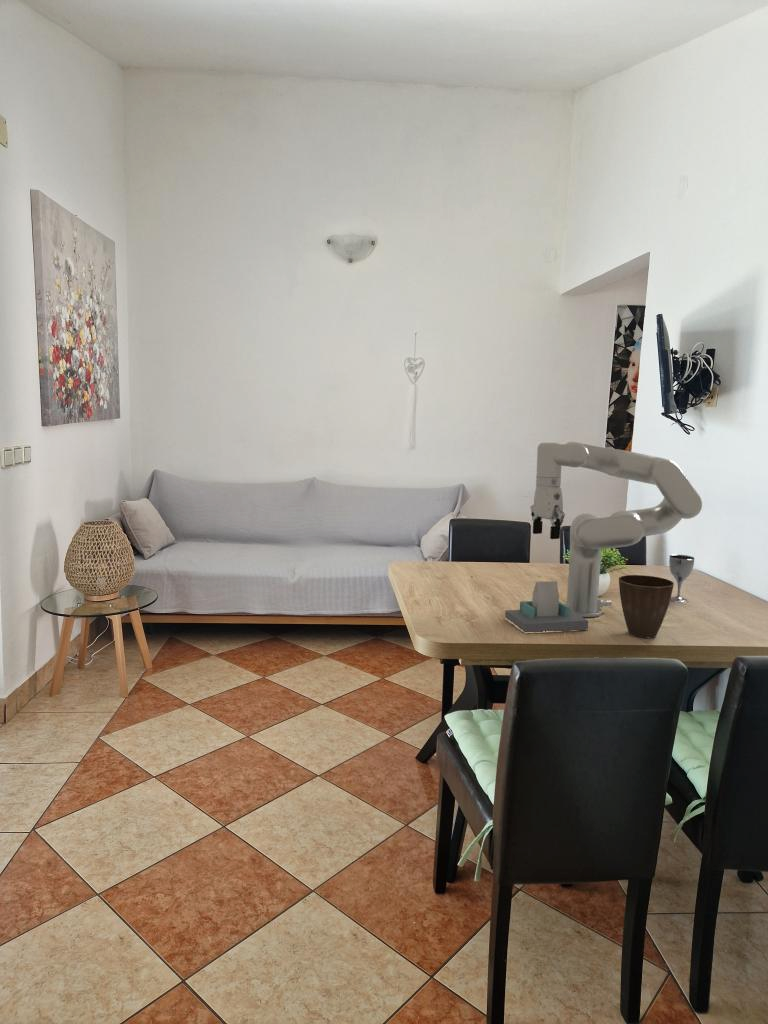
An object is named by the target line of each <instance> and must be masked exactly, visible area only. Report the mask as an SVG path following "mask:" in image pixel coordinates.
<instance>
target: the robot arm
mask: <svg viewBox="0 0 768 1024" xmlns="http://www.w3.org/2000/svg"><path fill="white" fill-rule="evenodd" d="M536 450H537V452H536V453H537V456H536V475H535V476H536V477H535V491H534V496H533V498H534V499H533V504H532V505H531V506H530V508H529V509H530V512H531V514H530V515H531V517H532V518H531V521H532V534H533V535H538V534H539V535H540V534H543V519H546V520H549V521H550V523H551V526H550V531H549V532H550V533H549V534H550V535H549V537H550V538H549V539H551V540H559V539H560V538H561V527H562V525H563V522H564V519H565V516H566V514H565V512H564V499H563V492H562V491H563V490H562V485H561V482H562V481H561V479H562V467H570V468H584V469H589V470H593V471H597V472H601V473H604V474H606V475H609V476H611V477H615V478H618V479H619V478H620V479H625V480H629V481H635V482H640V483H644V484H648V485H649V484H650V485H654V486H656V488H657V489H658V490H659V491H660V493H661V495H662V496H663V499H662V501H661V502H660V503H659V504H657V505H656V506H653V507H647V508H642V509H641V508H639V509H631V510H619V511H615V512H613V513H611V515H609V516H606V517H597V515H594V514H592V513H581V514H579V515H577V516H576V517H575V518H573V520H572V522H571V524H570V527H569V528H570V529H569V563H568V574H567V575H568V576H567V577H568V578H567V593H566V603H565V605H566V606H568V607H569V610H571V611H572V612H574V613H576V614H578V615H579V616H581V617H583V618H595V617H600V616H602V615H603V609H602V608H604V607H612V603H613V602H612V600H610V599H606V600H604V598H603V599H602V598H599V589H600V588H599V587H600V575H601V573H600V572H601V565H602V563H601V562H602V560H601V559H602V550H604V549H605V550H607V549H614V548H624V547H629V546H633V545H635V544H638V543H639V542H640V541H641V540H643V538H644V537H649V536H656V535H660V534H665V533H667V532H669V531H671V530H673V529H674V528H675V527H676V526H677V525H678V524H679V523H680V522H681V521H682V519H684V520H688V519H693V518H695V517H696V516H698V515H699V514H700V512H701V511H702V507H703V501H702V499H701V498H702V497H701V496H700V494H699V493H698V491H697V490H696V488H695V487H694V486H693V484H692V483H691V482H690V480H689V479H688V478H687V477H686V475H685V473H684V472H683V470H682V469H681V468H680V466H679V465H678V464H677V463H676V462H675V461H674V460H670V459H666V458H663V457H659V456H655V455H649V454H646V453H645V454H644V453H639V452H635V451H634V452H633V451H628V450H624V449H617V448H607V447H603V446H596V445H591V444H587V443H582V442H577V441H569V442H566V443H565V444H563V443H559V442H540V443H539V444H538V446H537V449H536Z"/></svg>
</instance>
